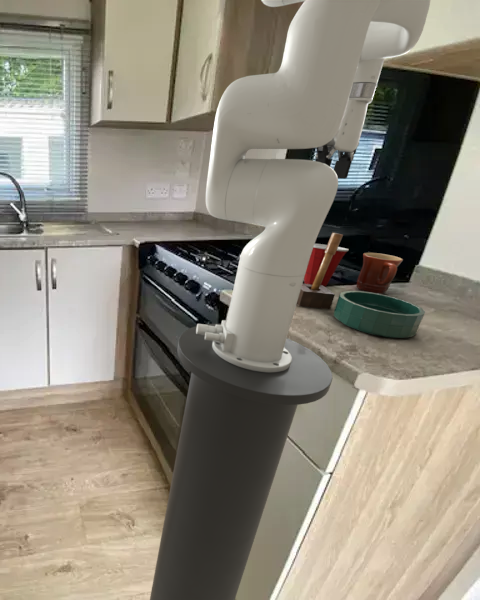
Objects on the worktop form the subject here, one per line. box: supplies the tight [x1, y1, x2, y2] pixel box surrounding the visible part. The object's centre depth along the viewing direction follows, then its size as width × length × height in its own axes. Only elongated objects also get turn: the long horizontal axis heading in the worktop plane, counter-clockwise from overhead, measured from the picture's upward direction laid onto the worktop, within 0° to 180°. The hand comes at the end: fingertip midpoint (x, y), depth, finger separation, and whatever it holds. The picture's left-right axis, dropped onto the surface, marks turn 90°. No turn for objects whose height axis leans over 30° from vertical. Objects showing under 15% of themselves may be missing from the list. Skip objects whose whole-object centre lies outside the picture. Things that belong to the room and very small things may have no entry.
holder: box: [296, 283, 336, 310], centre depth 90 cm, size 7×7×4 cm
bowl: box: [333, 290, 426, 339], centre depth 78 cm, size 15×15×6 cm
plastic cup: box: [303, 243, 349, 288], centre depth 105 cm, size 11×11×12 cm
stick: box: [311, 232, 344, 290], centre depth 88 cm, size 2×2×18 cm
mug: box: [355, 252, 404, 295], centre depth 99 cm, size 12×9×10 cm
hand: (329, 177), depth 84 cm, fingers open, 9 cm apart
